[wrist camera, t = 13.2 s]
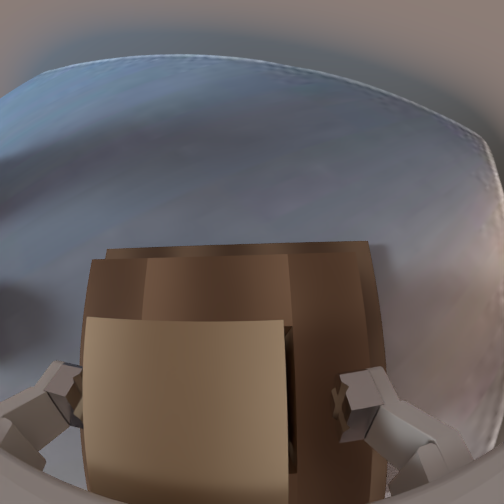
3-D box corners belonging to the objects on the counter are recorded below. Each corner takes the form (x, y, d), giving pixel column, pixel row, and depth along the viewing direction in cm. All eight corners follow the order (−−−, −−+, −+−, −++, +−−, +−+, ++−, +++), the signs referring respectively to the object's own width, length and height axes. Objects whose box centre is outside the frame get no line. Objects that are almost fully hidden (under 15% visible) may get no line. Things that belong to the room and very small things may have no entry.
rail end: (190, 428, 14) (91, 491, 4) (189, 355, 16) (86, 316, 6) (268, 429, 14) (288, 516, 4) (266, 355, 16) (283, 319, 6)
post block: (110, 493, 14) (37, 533, 5) (114, 256, 23) (50, 187, 14) (377, 496, 14) (442, 546, 4) (362, 248, 23) (414, 170, 14)
